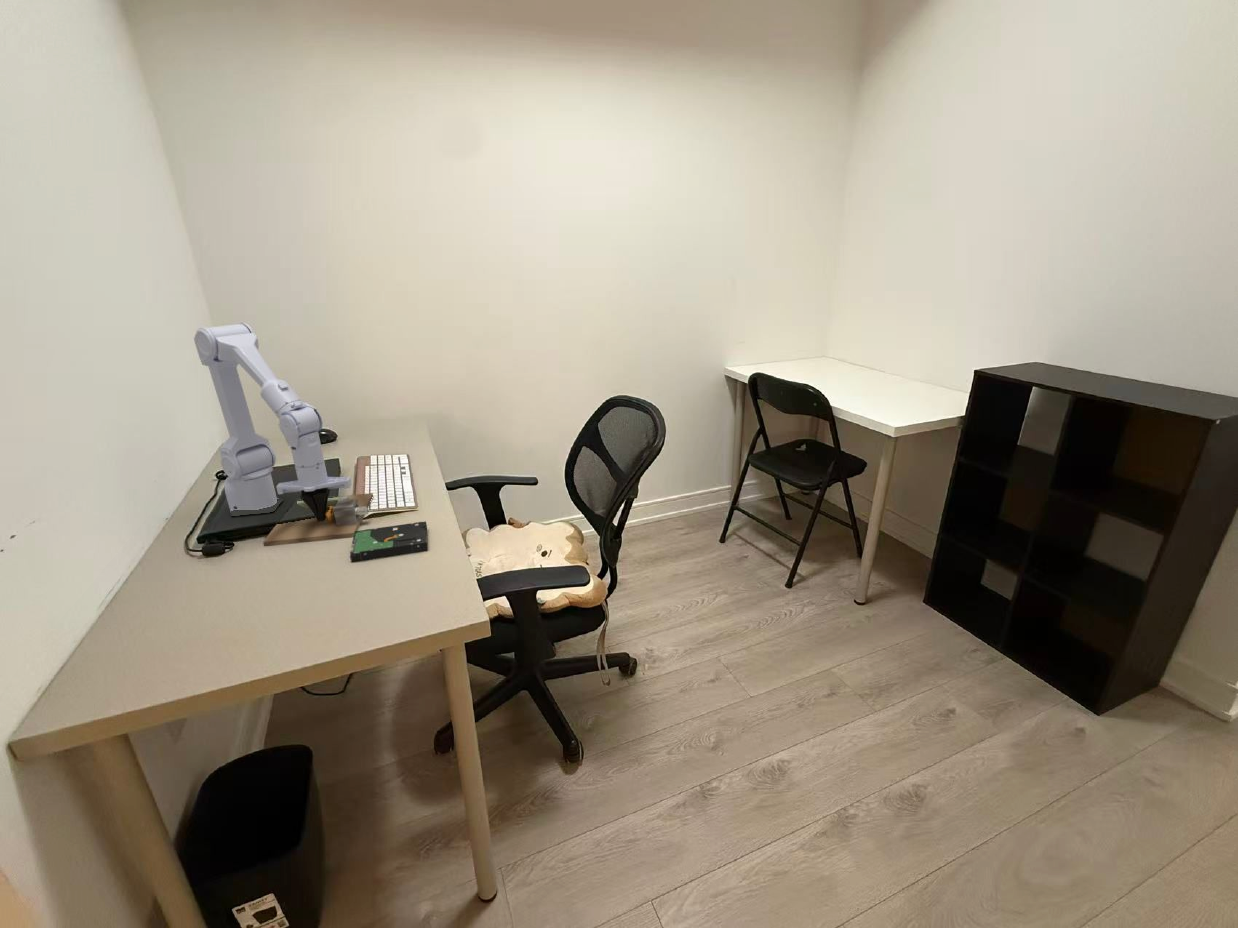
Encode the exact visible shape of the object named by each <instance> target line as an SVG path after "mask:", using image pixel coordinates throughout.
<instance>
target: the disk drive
mask: <svg viewBox="0 0 1238 928" xmlns="http://www.w3.org/2000/svg"><path fill="white" fill-rule="evenodd" d="M428 542H429V541H428V524H427V522H426V520H425V521H418V522H411V523H406V524H405V523H404V524H396V525H389V526H383V527H382V526H381V527H375V528H369V529H368V528H366V529H362V530H357V531H355V533H354V537H352V540H351V546H350V550H349V558H350V562H351V563H358V562H359V563H360V562H365V561H366V562H368V561H372V560H378V559H384V558H390V557H397V556H406V555H410V554H418V553H422V552H428Z"/></svg>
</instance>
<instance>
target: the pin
mask: <svg viewBox="0 0 1238 928" xmlns="http://www.w3.org/2000/svg"><path fill="white" fill-rule="evenodd" d="M333 508H334V506H327V507H326V519H327V521H335V520H336V519H335V514H334V510H333ZM354 509H355V514H356V515H364V514H365V515H368V513H369V507H368V508H367V506H365V507H355V508H354ZM365 515H364V516H365Z"/></svg>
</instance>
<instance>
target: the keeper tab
mask: <svg viewBox="0 0 1238 928" xmlns="http://www.w3.org/2000/svg"><path fill="white" fill-rule="evenodd" d="M338 500H342V499H341V498H340V497H336V498H328V500H327V506H334V507H335V505H336V503H337V502H338ZM297 504H298V505H300V506H302V507H305V508H306V509H310V508H309V506H308V505H307V504H306V503H305V502H304V501H303V500H302V501H297ZM327 506H326V507H327Z"/></svg>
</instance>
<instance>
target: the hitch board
mask: <svg viewBox="0 0 1238 928" xmlns="http://www.w3.org/2000/svg"><path fill="white" fill-rule="evenodd" d="M336 496H337V497H340V498H341V499H342V500H338V502H337V503H336V505H335V507H334V508H333V510H334V514H335V519H336V520H335V521H327V519H325V520H324V521H317V519H316V517H315V518H311V519H305V520H300V521H295V522H288V523H283V524H277V523H276V525H275V526H274V527H273V528H272V529H271V531H270V532H269V533H268V535H267V536H266V538H265V539H264V540H263V542H262V543H263V546H264V547H268V546H278V545H288V544H299V543H308V542H316V541H317V542H319V541H326V540H337V539H346V538H347V539H348V538H353V537H354V533H355V531H359V528H360V526H361V524H362V521H363V520H364V518H365V515H366V514H364V515H356V514H355V509H354V508H355V507H365V506H367V508H368V509H369V507H370V505H369V503H370V501H371V502H372V500H373V498H374V493H372V492H370V493H361V494H347V495H336ZM332 497H333V498H336V497H335V496H332ZM372 497H373V498H372ZM371 499H372V500H371ZM370 504H371V503H370ZM368 506H369V507H368Z"/></svg>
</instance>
